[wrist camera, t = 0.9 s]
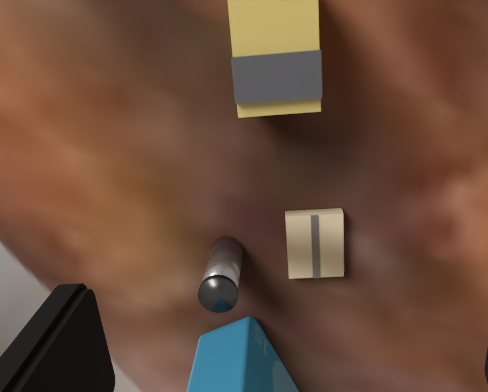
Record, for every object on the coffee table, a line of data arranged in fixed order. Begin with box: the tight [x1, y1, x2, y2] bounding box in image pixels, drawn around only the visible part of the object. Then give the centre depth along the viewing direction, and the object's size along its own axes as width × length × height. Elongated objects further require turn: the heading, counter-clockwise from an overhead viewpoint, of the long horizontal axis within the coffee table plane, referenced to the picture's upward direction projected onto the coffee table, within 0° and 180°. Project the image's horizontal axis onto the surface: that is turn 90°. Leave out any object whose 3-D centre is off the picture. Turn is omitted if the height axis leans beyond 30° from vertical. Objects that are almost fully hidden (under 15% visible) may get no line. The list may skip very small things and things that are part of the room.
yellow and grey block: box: [228, 0, 323, 118], centre depth 26 cm, size 7×5×6 cm, turn 5°
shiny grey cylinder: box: [198, 236, 243, 313], centre depth 31 cm, size 2×2×6 cm
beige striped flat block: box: [285, 208, 344, 279], centre depth 32 cm, size 5×4×1 cm
